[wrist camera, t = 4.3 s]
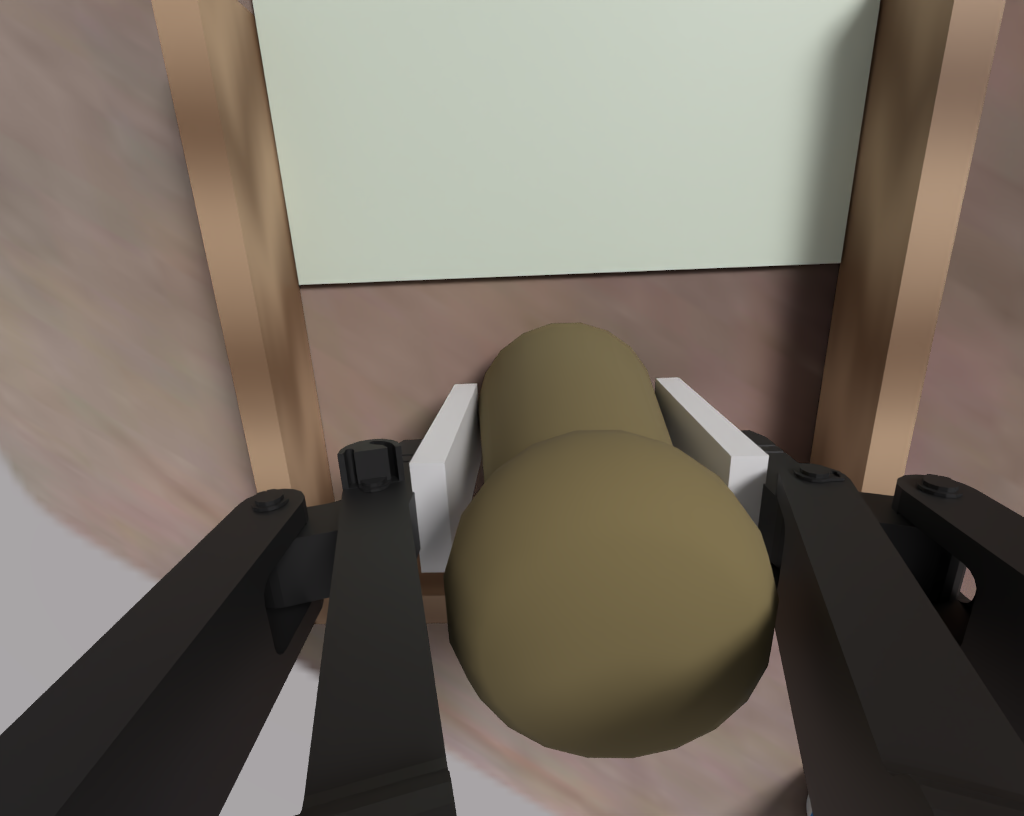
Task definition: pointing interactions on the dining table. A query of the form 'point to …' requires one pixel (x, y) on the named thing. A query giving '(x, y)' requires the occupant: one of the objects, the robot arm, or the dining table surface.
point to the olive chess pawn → (601, 560)
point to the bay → (861, 280)
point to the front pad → (563, 133)
